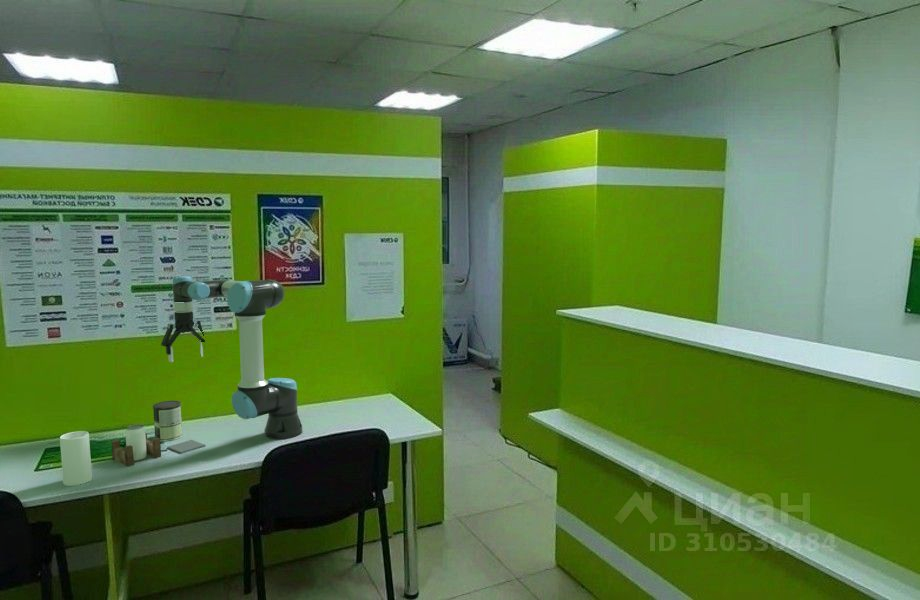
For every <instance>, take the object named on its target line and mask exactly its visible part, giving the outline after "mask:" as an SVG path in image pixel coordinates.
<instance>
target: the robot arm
mask: <svg viewBox="0 0 920 600" xmlns="http://www.w3.org/2000/svg"><path fill="white" fill-rule="evenodd" d="M171 286H172V297H173V310H174V315H173V317H174V318H173V319H174V323H168V324H167V329H166V332H165V334H164V335H163V336H164V337H163V338H162V341H161V344H160V346H162V347H165V354H166V355H168V356H167V357H168V362H169V363H173V362H174V348H173V346H172V345H173V344H174V342H175V341H176V339H177V338H178V337H179V335H181V334H184V333H191V335H193V337H195V336H196V337H197V338H198V339H199V340H201V342H200V341H199V340H198V339H197V338H196V337H195V338H196V339H197V340H198V342H199V343H200V354H201V357H200V358H203V357H204V349H203V344H202V342H204V343H205V342H206V341H205V340H204V339H203V338H202V336H201V335H200V333H199V332H197V331H196V329H195V328H194V326H195V327H196V326H197V325H198V328H199V329H200V331H201V332H202V331H203V330H204V329H203V330H202V328H203V327H202V323H201V320H197V321H196V320H194V312H193V310H194V305H193V300H195V301H202V300H206V299H214V298H226V303H227V306H228V308H229V311H230V312H232V313H234V317H235V318H236V319H237V320H238V328H239V331H238V333H239V357H240V359H239V360H240V375H241V376H240V379H241V380H240V381H239V382H238V384H237V390H236V391H234V392H233V393H232V395H231V405H232V409H233V410H234V412H235V414H236V415H237V416H238V417H239V418H241V419H243V420H249V419H255V418H257V417H261V416H263V415H264V416H265V415H268V417H267V421H266V425H265V428H264V436H265V437H266V438H269V439H275V440H276V439H277V440H281V439H289V438H291V439H292V438H294V437H297V436H299V435H301V434H302V433H303V424H302V422H301V419H300V416H299V413H298V387H297V382H296V380H294V379H292V378H287V377H286V378H285V377H270V378H268V379H267V380H266V379H265V367H264V364H265V363H264V360H265V359H264V341H263V340H264V339H263V338H264V337H263V333H264V332H263V319H264V318H265V316H266V315H267V309H273V308H276V307H278V306H280V304H282V302H283V301H284V299H285V294H286V293H285V288H284V286H283V285H282V284H281V282H279V281H277V280H276V279H258V280H257V279H256V280H243V281H241V280H234V279H220V280H219V279H217V280H203V281H192V277H191V276H189V275H183V276H182V275H180V276H178V277H177V276H174V277H172V285H171ZM180 287H181V288H180ZM175 302H184V303H175ZM194 321H195V322H194ZM194 324H195V325H194ZM204 332H205V331H204ZM204 332H202V334H203V333H204ZM172 333H173V334H172ZM203 336H204V334H203Z"/></svg>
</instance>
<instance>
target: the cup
mask: <svg viewBox="0 0 920 600" xmlns="http://www.w3.org/2000/svg"><path fill="white" fill-rule="evenodd" d="M90 443H91V442H90V433H89V431H85V430H79V431H77V430H76V431H72V432H71V431H70V432H67V433H64V434H62V435H61V436H60V437H59V445H60V458H61V459H60V460H61V469H62V471H61V472H62V485H64V486H68V487H73V486H74V487H75V486H80V484H81V485H84V484H86V482H87V483H89V482H90V481H92V479H93V473H92V461H91V460H92V459H91V446H90ZM88 481H89V482H88Z"/></svg>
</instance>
